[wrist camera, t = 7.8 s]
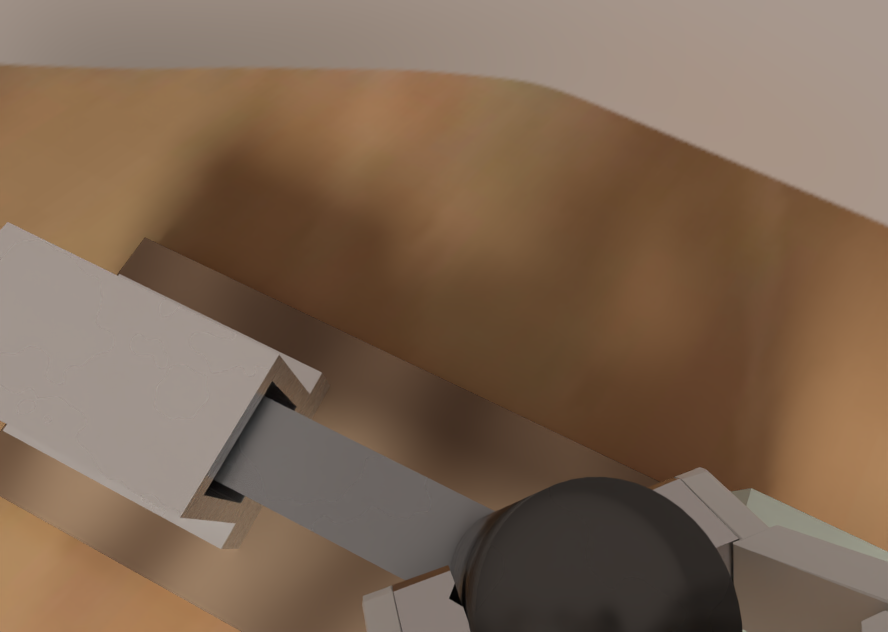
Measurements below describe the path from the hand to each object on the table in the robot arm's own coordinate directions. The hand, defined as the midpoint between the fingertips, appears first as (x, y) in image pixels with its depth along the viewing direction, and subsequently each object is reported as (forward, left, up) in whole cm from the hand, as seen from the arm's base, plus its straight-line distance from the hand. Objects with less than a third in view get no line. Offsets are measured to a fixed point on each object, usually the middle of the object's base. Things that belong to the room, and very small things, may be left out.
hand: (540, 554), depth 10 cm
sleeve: (-12, 0, -10) cm, 15 cm away
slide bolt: (-2, 0, -7) cm, 7 cm away
